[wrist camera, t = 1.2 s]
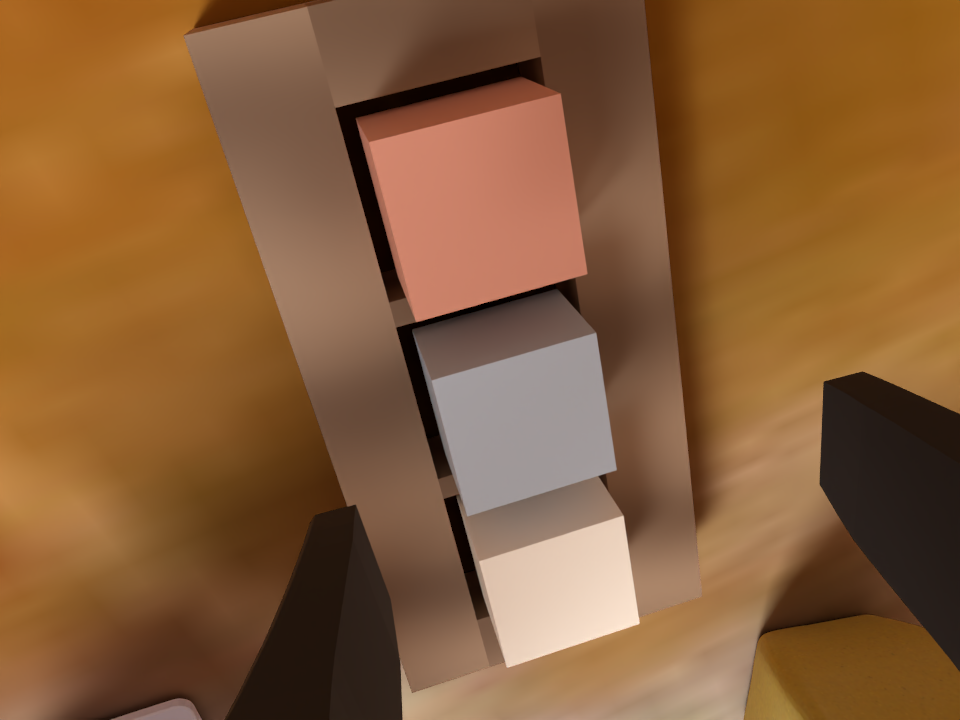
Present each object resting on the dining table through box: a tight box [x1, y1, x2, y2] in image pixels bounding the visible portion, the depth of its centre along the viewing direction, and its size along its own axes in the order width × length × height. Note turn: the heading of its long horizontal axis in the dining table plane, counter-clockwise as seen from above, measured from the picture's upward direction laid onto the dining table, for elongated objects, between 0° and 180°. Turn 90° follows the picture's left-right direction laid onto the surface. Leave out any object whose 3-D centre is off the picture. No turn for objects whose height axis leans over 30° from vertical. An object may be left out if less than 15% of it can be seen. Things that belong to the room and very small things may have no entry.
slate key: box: [412, 289, 617, 516], centre depth 21 cm, size 4×4×3 cm
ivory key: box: [457, 476, 640, 668], centre depth 24 cm, size 4×4×3 cm
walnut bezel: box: [184, 0, 702, 693], centre depth 23 cm, size 20×10×2 cm, turn 11°
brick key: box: [356, 77, 588, 322], centre depth 19 cm, size 4×4×3 cm
